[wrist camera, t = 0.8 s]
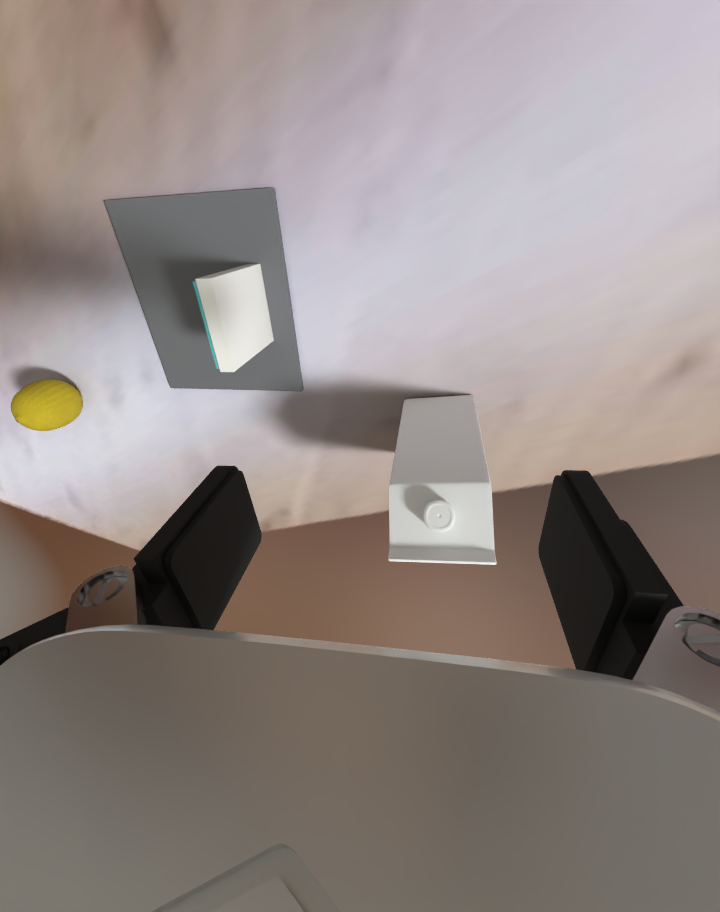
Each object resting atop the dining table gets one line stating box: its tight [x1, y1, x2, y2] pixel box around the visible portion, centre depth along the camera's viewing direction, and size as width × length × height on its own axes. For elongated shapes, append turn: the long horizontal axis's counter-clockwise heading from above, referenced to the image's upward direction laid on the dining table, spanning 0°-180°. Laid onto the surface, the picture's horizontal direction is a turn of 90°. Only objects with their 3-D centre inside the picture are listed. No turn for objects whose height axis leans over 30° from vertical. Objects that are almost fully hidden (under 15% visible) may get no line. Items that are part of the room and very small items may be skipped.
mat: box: [104, 188, 303, 391], centre depth 37 cm, size 18×16×1 cm
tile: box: [193, 264, 274, 372], centre depth 32 cm, size 7×2×9 cm, turn 3°
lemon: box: [11, 379, 83, 431], centre depth 43 cm, size 6×6×8 cm
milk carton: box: [388, 395, 496, 565], centre depth 32 cm, size 7×7×19 cm
